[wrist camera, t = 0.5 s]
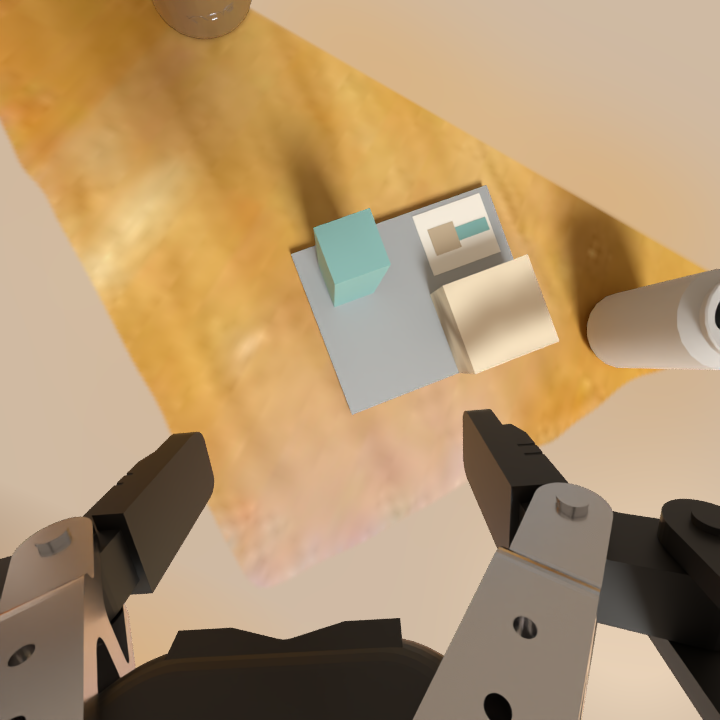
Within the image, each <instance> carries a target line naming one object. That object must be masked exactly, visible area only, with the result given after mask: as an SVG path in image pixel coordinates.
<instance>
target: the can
mask: <svg viewBox="0 0 720 720" xmlns="http://www.w3.org/2000/svg"><path fill="white" fill-rule="evenodd" d="M587 337H588V341H589V344H590V347H591V349H592V350H593V352H594V353H595V355H596V356H597V357H598V358H599V359H600V360H602V361H603V362H604V363H606V364H608V365H611V366H613V367H616V368H656V369H704V370H720V269H715V270H711V271H707V272H702V273H698V274H694V275H690V276H686V277H682V278H678V279H673V280H669V281H665V282H661V283H657V284H653V285H648V286H644V287H640V288H636V289H632V290H628V291H624V292H619V293H616V294H613V295H609V296H606V297H605V298H604V299H602V300H601V301H600V302H598V303H597V304H596V306H595V307H594V309H593V310H592V311H591V313H590V316H589V319H588V323H587Z"/></svg>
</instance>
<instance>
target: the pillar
mask: <svg viewBox="0 0 720 720" xmlns="http://www.w3.org/2000/svg"><path fill="white" fill-rule="evenodd" d="M313 229H314V236H315V243H316V250H317V257H318V264H319V269H320V271H321V274H322V277H323V279H324V282H325V285H326V287H327V290H328V292H329V295H330V298H331V300H332V303H333V306H334V307H336V306H339V305H342V304H345V303H347V302H350V301H353V300H355V299H358V298H361V297H364V296H366V295H369V294H372V293H374V292H375V290H376V288H377V287H378V285H379V283H380V282H381V280H382V278H383V277H384V275H385V273H386V272H387V270H388V268H389V267H390V265H391V263H390V261H389V258H388V255H387V253H386V250H385V247H384V245H383V242H382V239H381V237H380V234H379V231H378V229H377V226H376V223H375V221H374V218H373V215H372V213H371V210H370V208H368V209H366V210H363V211H360V212H357V213H354V214H351V215H348V216H345V217H343V218H340V219H337V220H334V221H331V222H328V223H325V224H323V225H320V226H317V227H314V228H313Z"/></svg>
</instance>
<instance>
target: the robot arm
mask: <svg viewBox="0 0 720 720" xmlns="http://www.w3.org/2000/svg"><path fill="white" fill-rule="evenodd" d="M152 2H153V4H154V6H155V8H156V9H157V11H158V13H159V14H160V16H161V17H162V18H163V19H164V20H165V21H166V23H167V24H168V25H169V26H171V27H172V28H174V29H175V30H177V31H178V32H180V33H183V34H185V35H187V36H191V37H195V38H208V39H209V38H215V37H220V36H222V35H225V34H227V33H229V32H231V31H232V30H233V29H235V28H236V27H237V26H238V25H239V24H240V23H241V22H242V21H243V20H244V18H245V16H246V14H247V13H248V11H249V8H250V4H251V0H152ZM463 461H464V468H465V473H466V476H467V479H468V481H469V484H470V486H471V488H472V491H473V493H474V495H475V498H476V500H477V502H478V505H479V507H480V509H481V511H482V514H483V516H484V519H485V521H486V523H487V526H488V528H489V530H490V533H491V535H492V537H493V540H494V542H495V544H496V546H497V548H498V549H497V551H496V553H495V554H494V556H493V558H492V560H491V562H490V564H489V566H488V568H487V570H486V573H485V574H484V576H483V579H482V580H481V583H480V585H479V587H478V589H477V591H476V593H475V595H474V597H473V599H472V601H471V603H470V605H469V607H468V609H467V611H466V613H465V615H464V617H463V619H462V621H461V623H460V625H459V627H458V629H457V631H456V633H455V635H454V637H453V639H452V642H451V643H450V645H449V647H448V650H447V651H446V653H445V655H444V656H443V655H442V654H440V653H438V652H436V651H434V650H433V649H431V648H429V647H427V646H424V645H422V644H419V643H416V642H414V641H410V640H406V639H402V635H401V623H400V618H394V619H377V620H359V621H344V622H341V623H338V624H335V625H332V626H328V627H325V628H322V629H319V630H316V631H313V632H310V633H307V634H304V635H301V636H298V637H294V638H291V639H286V640H282V639H276V638H272V637H268V636H264V635H260V634H256V633H252V632H247V631H243V630H239V629H235V628H220V629H201V630H184V631H178V633H177V635H176V638H175V640H174V642H173V644H172V646H171V648H170V650H169V652H168V654H165V655H163V656H160V657H158V658H156V659H153V660H151V661H149V662H147V663H145V664H143V665H141V666H139V667H137V668H135V661H134V653H133V645H132V637H131V629H130V622H129V614H128V610H127V608H126V605H125V602H126V600H127V599H128V597H129V596H130V595H131V594H147V593H153V592H154V590H155V588H156V587H157V585H158V583H159V582H160V580H161V578H162V576H163V575H164V573H165V572H166V570H167V568H168V567H169V565H170V563H171V562H172V560H173V558H174V557H175V555H176V553H177V552H178V550H179V548H180V547H181V545H182V544H183V542H184V540H185V538H186V537H187V535H188V534H189V532H190V530H191V529H192V527H193V525H194V524H195V522H196V520H197V519H198V517H199V515H200V514H201V512H202V510H203V509H204V507H205V505H206V504H207V502H208V500H209V499H210V497H211V495H212V492H213V488H214V475H213V471H212V467H211V463H210V460H209V456H208V452H207V448H206V444H205V440H204V437H203V436H202V434H201V433H200V432H191V433H179V434H173V435H171V436H170V437H169V438H168V439H167V440H166V441H165V442H164V443H163V444H162V445H161V446H160V447H159V448H158V449H157V450H156V451H155V452H154V453H152V454H150V455H149V456H147V457H145V458H144V459H143V460H141V461H139V462H138V463H137V464H136V465H135V466H134V467H133V468H132V469H131V470H130V471H129V472H128V473H127V476H124V477H123V478H122V479H120V480H119V481H118V483H117V485H116V486H113V487H112V488H111V489H110V490H109V491H108V492H107V493H106V494H105V495H104V496H103V497H102V498H101V499H100V500H99V501H98V502H97V503H96V504H95V505H94V506H93V507H92V508H91V509H90V510H89V511H88V512H87V513H86V514H85V515H84V516H83V517H73V518H68V519H64V520H61V521H58V522H56V523H53V524H51V525H49V526H47V527H45V528H43V529H41V530H39V531H38V532H36V533H35V534H33V535H32V536H30V537H29V538H28V539H26V540H25V541H24V542H23V543H22V544H21V545H19V547H18V548H17V549H16V550H15V552H14V553H13V555H12V556H10V557H6V558H2V559H0V720H582V715H583V709H584V703H585V696H586V690H587V684H588V678H589V672H590V665H591V660H592V654H593V647H594V641H595V635H596V629H597V623H601V624H606V625H609V626H613V627H617V628H622V629H626V630H629V631H633V632H638V633H642V634H646V635H648V636H649V638H650V639H651V641H652V642H653V644H654V645H655V647H656V648H657V650H658V652H659V653H660V655H661V656H662V658H663V659H664V661H665V662H666V664H667V665H668V667H669V668H670V669H671V671H672V673H673V674H674V676H675V678H676V679H677V680H678V682H679V684H680V685H681V687H682V688H683V690H684V691H685V693H686V694H687V696H688V697H689V699H690V700H691V702H692V703H693V705H694V707H695V708H696V710H697V711H698V713H699V714H700V716H701V717H702V719H703V720H720V506H718V505H715V504H712V503H708V502H704V501H699V500H692V499H677V500H676V499H675V500H671V501H669V502H667V503H665V504H664V506H663V507H662V511H661V515H660V519H656V518H650V517H643V516H636V515H630V514H624V513H618V512H614V511H612V509H611V507H610V505H609V504H608V503H607V502H606V501H605V500H604V499H603V498H602V497H601V496H599V495H598V494H596V493H595V492H593V491H591V490H589V489H586V488H584V487H581V486H578V485H574V484H569V483H568V482H567V481H566V480H565V478H564V477H563V476H562V475H561V474H560V472H559V471H558V470H557V469H556V468H555V467H554V465H553V464H552V463H551V462H550V461H549V459H548V458H547V457H546V456H545V455H544V454H542V451H541V450H540V449H539V447H538V446H537V445H535V443H534V441H533V440H532V439H531V438H530V437H529V436H528V434H527V433H526V432H524V431H522V430H521V429H519V428H517V427H515V426H514V425H512V424H505V425H502V424H501V422H500V421H499V420H498V418H497V417H496V416H495V414H494V413H493V412H492V410H491V409H484V410H472V411H464V414H463Z"/></svg>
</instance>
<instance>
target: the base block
mask: <svg viewBox="0 0 720 720" xmlns="http://www.w3.org/2000/svg"><path fill="white" fill-rule="evenodd" d="M430 296H431V299H432V301H433V304H434V307H435V309H436V312H437V315H438V318H439V320H440V323H441V326H442V328H443V331H444V334H445V336H446V339H447V342H448V344H449V347H450V350H451V352H452V355H453V358H454V360H455V363H456V366H457V368H458V371H459V373H467V374H477V373H480V372H482V371H485V370H487V369H490V368H492V367H495V366H498V365H500V364H503V363H505V362H508V361H510V360H513V359H515V358H518V357H520V356H523V355H526V354H528V353H531V352H533V351H536V350H538V349H541V348H543V347H546V346H548V345H551V344H553V343H556V342H559V339H558V336H557V333H556V330H555V328H554V325H553V322H552V319H551V317H550V314H549V311H548V309H547V306H546V303H545V300H544V298H543V295H542V292H541V289H540V287H539V284H538V281H537V278H536V276H535V273H534V270H533V267H532V265H531V262H530V259H529V257H528V254H527V255H524V256H521V257H519V258H516V259H513V260H511V261H508V262H505V263H503V264H500V265H497V266H495V267H492V268H489V269H486V270H484V271H481V272H478V273H476V274H473V275H470V276H468V277H465V278H462V279H460V280H457V281H454V282H451V283H449V284H446V285H443V286H442V287H440V288H439V289H437V290H436V291H434V292H433V293H431V294H430Z"/></svg>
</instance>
